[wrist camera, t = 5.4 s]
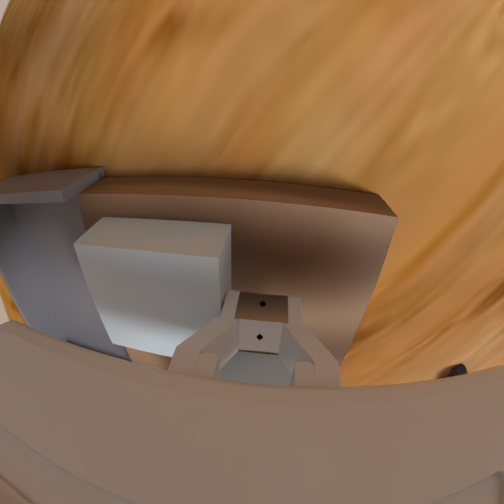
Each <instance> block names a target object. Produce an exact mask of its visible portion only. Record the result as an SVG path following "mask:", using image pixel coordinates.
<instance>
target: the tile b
mask: <svg viewBox="0 0 504 504" xmlns="http://www.w3.org/2000/svg"><path fill="white" fill-rule="evenodd" d="M291 376H292V375H291V374H290V372H289V371H288V369H287V367H286V366H285V364H284V362H283V361H282V359H281V357H280V356H279V355H271V354H260V353H250V352H241V351H237V352H236V353H235V354H234V356H233V357H232V358H231V359H230V360H229V361H228V362H227V363H226V364H225V365H224V366H223V367H222V368H221V369H220V379H221V380H228V381H236V382H245V383H254V384H266V385H279V386H289V383H290V380H291Z"/></svg>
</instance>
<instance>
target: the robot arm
mask: <svg viewBox="0 0 504 504" xmlns="http://www.w3.org/2000/svg"><path fill="white" fill-rule="evenodd" d="M238 349H239V350H251V351H263V352H272V353H279V356H280V357H281V359H282V361H283V362H284V364H285V366H286V367H287V369H288V371H289V372H290V374H291V375H292V376H291V380H290V383H289V386H279V385H266V384H254V383H245V382H236V381H228V380H221V379H220V369H221V368H222V367H223V366H224V365H225V364H226V363H227V362H228V361H229V360H230V359H231V358H232V357H233V356H234V354H235V353H236V352H237V351H238ZM0 504H504V366H497V367H493V368H489V369H485V370H481V371H477V372H472V373H468V374H463V375H458V376H453V377H447V378H441V379H434V380H428V381H420V382H412V383H403V384H392V385H379V386H360V387H342V386H341V377H340V369H339V362H338V361H337V360H336V358H335V357H334V356H333V355H332V354H331V353H330V352H329V351H328V350H327V348H326V347H325V346H324V345H323V344H322V343H321V342H320V341H319V339H318V338H317V337H316V336H315V335H314V334H313V333H312V332H311V330H310V329H309V328H308V327H307V326H306V325H302V316H301V298H300V296H291V295H288V296H287V295H274V294H262V293H253V292H244V291H234V290H228V291H227V293H226V297H225V301H224V305H223V308H222V312H221V316H220V317H216V318H214V319H213V320H212V321H210V322H209V323H208V324H206V325H205V326H204V327H202V328H201V329H200V330H198V331H197V332H195V333H194V334H193V335H191V336H190V337H189V338H187V339H186V340H185V341H183V342H182V343H180V344H179V345H178V346H176V349H175V351H174V354H173V357H172V359H171V362H170V365H169V367H168V370H164V369H159V368H154V367H150V366H146V365H142V364H138V363H134V362H130V361H126V360H122V359H119V358H115V357H112V356H108V355H105V354H102V353H98V352H95V351H92V350H89V349H86V348H83V347H80V346H77V345H74V344H71V343H68V342H66V341H63V340H60V339H58V338H55V337H52V336H50V335H47V334H45V333H42V332H40V331H38V330H35V329H33V328H31V327H28V326H26V325H24V324H22V323H20V322H18V321H15V320H11V321H8V322H6V323H3V324H1V325H0Z"/></svg>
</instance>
